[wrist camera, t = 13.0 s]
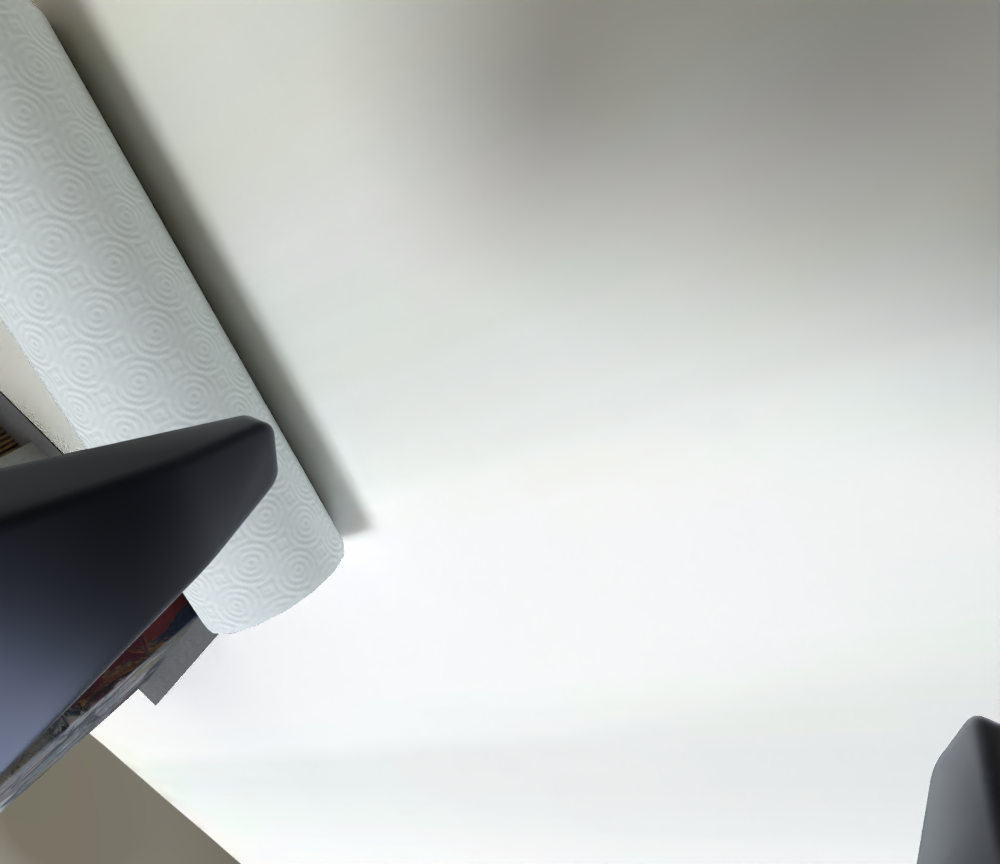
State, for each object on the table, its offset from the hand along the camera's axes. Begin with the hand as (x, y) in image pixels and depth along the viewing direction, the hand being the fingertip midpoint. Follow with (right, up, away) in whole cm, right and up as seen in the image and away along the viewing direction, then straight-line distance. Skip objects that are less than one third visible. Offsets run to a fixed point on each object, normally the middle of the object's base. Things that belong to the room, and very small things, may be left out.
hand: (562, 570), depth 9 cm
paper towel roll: (-9, -4, +21) cm, 24 cm away
